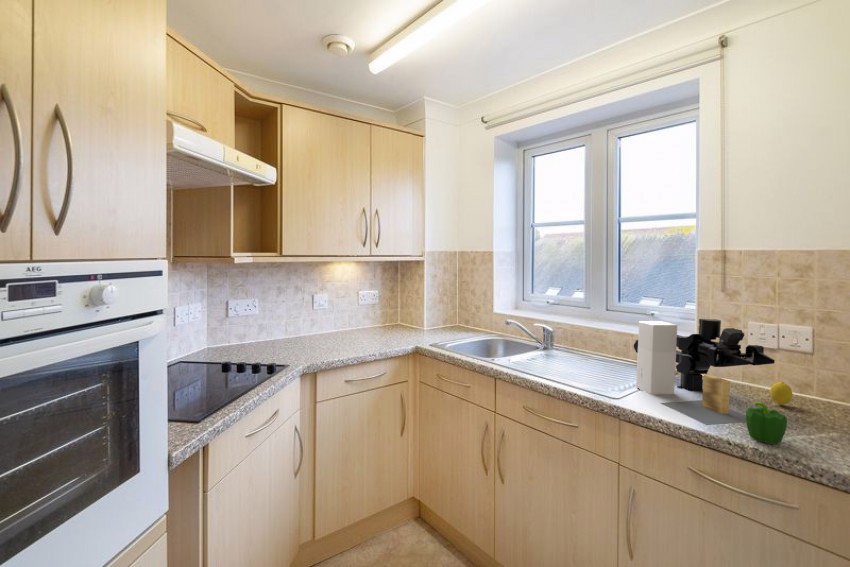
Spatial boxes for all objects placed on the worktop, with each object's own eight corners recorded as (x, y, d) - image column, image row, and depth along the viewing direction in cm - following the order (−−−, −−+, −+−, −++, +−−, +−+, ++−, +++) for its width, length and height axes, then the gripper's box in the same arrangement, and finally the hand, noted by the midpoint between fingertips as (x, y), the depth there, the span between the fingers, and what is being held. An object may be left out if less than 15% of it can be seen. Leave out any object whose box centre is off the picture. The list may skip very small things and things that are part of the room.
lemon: (795, 409, 131) (796, 384, 131) (773, 407, 133) (775, 383, 133) (786, 403, 136) (788, 380, 136) (766, 401, 138) (767, 378, 138)
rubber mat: (659, 404, 135) (659, 402, 135) (707, 401, 138) (707, 399, 138) (706, 426, 117) (706, 424, 117) (759, 422, 120) (759, 420, 120)
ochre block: (702, 405, 132) (703, 375, 132) (709, 405, 133) (710, 374, 132) (721, 413, 125) (723, 381, 125) (728, 413, 126) (730, 381, 125)
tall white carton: (635, 388, 152) (638, 321, 150) (658, 387, 153) (661, 320, 151) (650, 396, 143) (653, 324, 142) (674, 395, 144) (677, 324, 142)
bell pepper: (787, 440, 109) (789, 403, 108) (784, 450, 103) (786, 411, 102) (747, 431, 115) (749, 395, 114) (742, 440, 109) (744, 403, 108)
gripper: (694, 327, 138) (737, 337, 122) (741, 326, 141) (788, 335, 126) (692, 360, 139) (734, 373, 123) (739, 358, 142) (786, 371, 127)
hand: (761, 362), depth 125 cm, fingers open, 9 cm apart
